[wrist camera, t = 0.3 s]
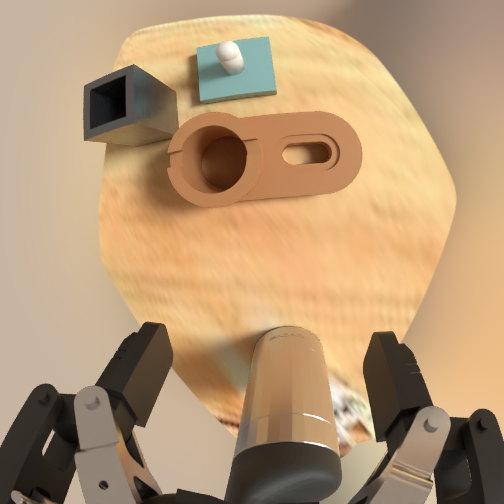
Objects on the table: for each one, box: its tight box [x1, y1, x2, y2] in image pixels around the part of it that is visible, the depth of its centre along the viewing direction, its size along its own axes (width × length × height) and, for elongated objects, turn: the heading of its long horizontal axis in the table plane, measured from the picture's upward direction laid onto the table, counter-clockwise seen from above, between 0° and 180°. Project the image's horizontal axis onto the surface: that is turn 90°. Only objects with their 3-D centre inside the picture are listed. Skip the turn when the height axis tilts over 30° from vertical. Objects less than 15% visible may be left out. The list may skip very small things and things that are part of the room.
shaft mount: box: [197, 37, 277, 104], centre depth 22 cm, size 7×8×7 cm
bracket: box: [167, 111, 362, 208], centre depth 24 cm, size 18×8×7 cm, turn 96°
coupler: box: [83, 64, 179, 146], centre depth 22 cm, size 6×6×10 cm
